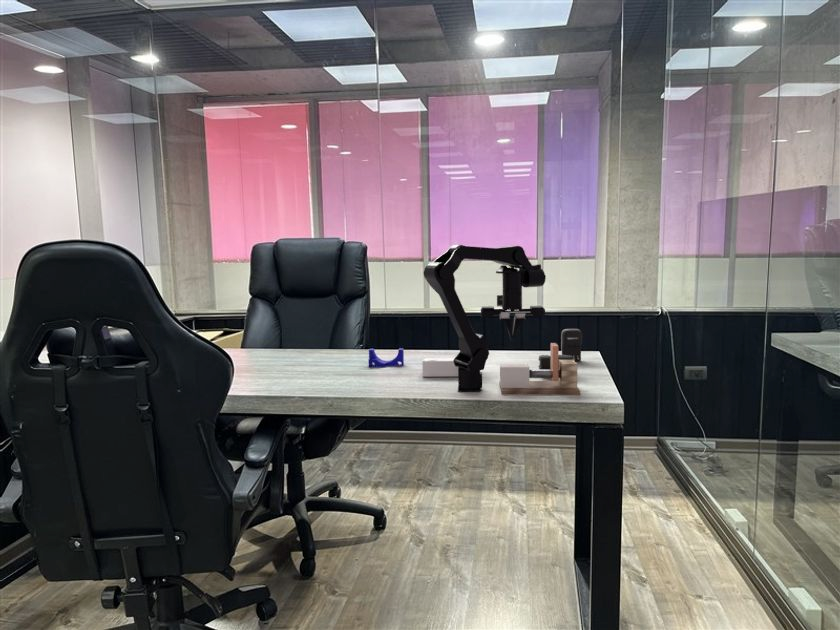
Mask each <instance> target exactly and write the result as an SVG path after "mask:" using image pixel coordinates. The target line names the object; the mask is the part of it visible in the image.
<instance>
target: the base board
mask: <svg viewBox="0 0 840 630" xmlns="http://www.w3.org/2000/svg"><path fill="white" fill-rule="evenodd" d="M499 389H500V392H501V395H502V394H545V396H546V394H550V395H551V394H564V395H563V396H567V395H574V396H575V395H576V396H577V395H578V396H579V395H581V390H580V389H579V387H578V386H577V388H561V386H560V385H559V380H558V381H553V380H529V388H501V386H500V385H499ZM565 394H566V395H565Z"/></svg>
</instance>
